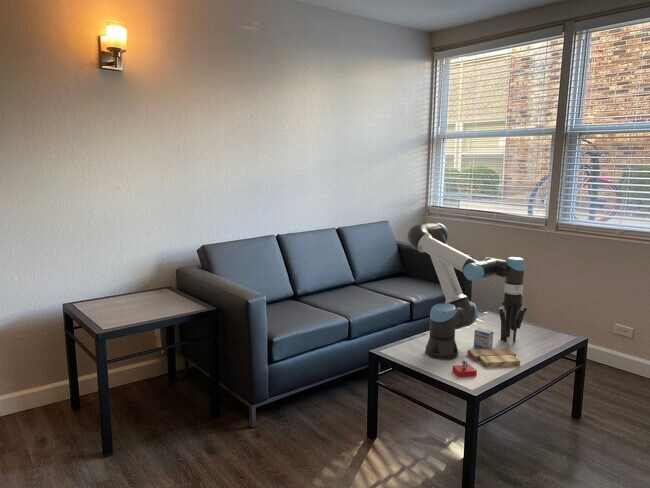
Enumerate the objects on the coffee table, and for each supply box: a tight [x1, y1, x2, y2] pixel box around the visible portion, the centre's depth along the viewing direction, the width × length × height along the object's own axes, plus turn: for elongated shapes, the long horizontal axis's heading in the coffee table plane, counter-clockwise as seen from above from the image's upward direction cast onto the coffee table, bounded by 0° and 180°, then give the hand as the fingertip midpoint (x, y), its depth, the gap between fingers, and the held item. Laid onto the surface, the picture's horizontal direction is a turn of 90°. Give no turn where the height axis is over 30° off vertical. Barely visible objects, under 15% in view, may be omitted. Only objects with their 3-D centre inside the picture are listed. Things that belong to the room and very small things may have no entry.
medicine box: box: [473, 328, 494, 349], centre depth 250 cm, size 8×4×9 cm, turn 47°
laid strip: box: [467, 347, 517, 362], centre depth 239 cm, size 20×8×2 cm, turn 97°
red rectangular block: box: [451, 360, 478, 378], centre depth 220 cm, size 8×7×6 cm
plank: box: [478, 355, 521, 369], centre depth 231 cm, size 16×7×2 cm, turn 97°
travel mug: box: [500, 301, 518, 343], centre depth 259 cm, size 8×8×20 cm
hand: (509, 343), depth 228 cm, fingers closed
